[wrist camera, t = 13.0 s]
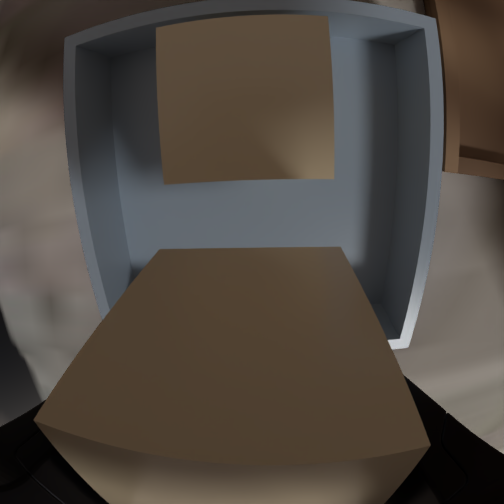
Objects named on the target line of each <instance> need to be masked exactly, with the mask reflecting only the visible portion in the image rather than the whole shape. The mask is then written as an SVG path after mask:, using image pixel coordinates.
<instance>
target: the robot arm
mask: <svg viewBox="0 0 504 504" xmlns="http://www.w3.org/2000/svg"><path fill="white" fill-rule="evenodd" d="M403 376H404V375H403ZM404 378H405V381H406V383H407V385H408V388H409V390H410V393H411V395H412V397H413V400H414V402H415V405H416V407H417V410H418V413H419V415H420V418H421V420H422V423H423V426H424V428H425V431H426V434H427V436H428V439H429V442H430V445H431V446H430V447H429V448H428V450H427V451H426V453H425V454H424V455H423V457H422V458H421V460H420V461H419V462H418V464H417V465H416V466H415V467H414V469H413V470H412V471H411V473H410V474H409V475H408V476H407V478H406V479H405V480H404V481H403V483H402V484H401V485H400V486H399V487H398V488H397V490H396V491H395V492H394V493H393V494H392V495H391V497H390V498H389V499H388V500H387V501H386V502H385V503H384V504H504V454H502V453H501V452H499V451H498V450H496V449H495V448H493V447H492V446H490V445H489V444H488V443H486V442H485V441H483V440H482V439H481V438H479V437H478V436H476V435H475V434H474V433H472V432H471V431H470V430H469V429H467V428H466V427H465V426H464V425H462V424H461V423H460V422H459V421H457V420H456V419H455V418H454V417H453V416H452V415H450V414H449V413H446V411H445V410H444V409H443V408H442V407H441V406H440V405H438V404H437V403H436V402H435V401H434V400H433V399H431V398H430V397H429V396H428V395H427V394H425V393H424V392H423V391H422V390H421V389H420V388H418V387H417V386H416V385H415V384H414V383H413V382H411V381H410V380H409V379H408V378H407V377H405V376H404ZM45 401H46V400H45ZM45 401H43V402H42V403H40V404H39V405H37V406H35V407H34V408H32V409H31V410H29V411H27V412H26V413H24V414H23V415H21V416H19V417H17V418H16V419H14V420H12V421H10V422H8V423H6V424H5V425H3V426H1V427H0V504H109V503H108V502H107V501H106V500H105V499H104V498H102V497H101V496H100V495H99V494H98V493H97V492H96V491H95V490H94V489H93V488H92V487H91V486H90V485H89V484H88V483H87V482H86V481H85V480H84V479H83V478H82V477H81V476H80V475H79V474H78V473H77V472H76V471H75V470H74V469H73V468H72V466H71V465H70V464H69V463H68V462H67V461H66V460H65V459H64V458H63V456H62V455H61V454H60V453H59V452H58V451H57V449H56V448H55V447H54V446H53V445H52V443H51V442H50V441H49V440H48V438H47V437H46V436H45V435H44V433H43V432H42V431H41V429H40V428H39V427H38V426H37V424H36V423H35V421H34V418H35V417H36V415H37V414H38V412H39V410H40V409H41V407H42V406H43V404H44V403H45Z"/></svg>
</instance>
